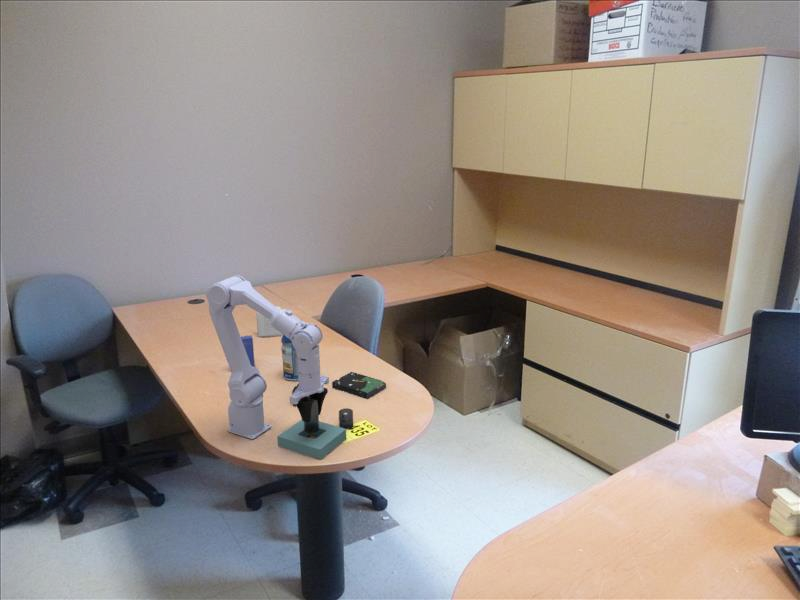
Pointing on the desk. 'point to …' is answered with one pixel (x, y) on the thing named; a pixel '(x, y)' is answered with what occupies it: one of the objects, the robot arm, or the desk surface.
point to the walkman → (249, 348)
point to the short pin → (346, 418)
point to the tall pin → (313, 417)
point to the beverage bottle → (289, 359)
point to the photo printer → (266, 326)
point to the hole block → (316, 448)
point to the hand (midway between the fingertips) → (311, 417)
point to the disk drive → (359, 385)
